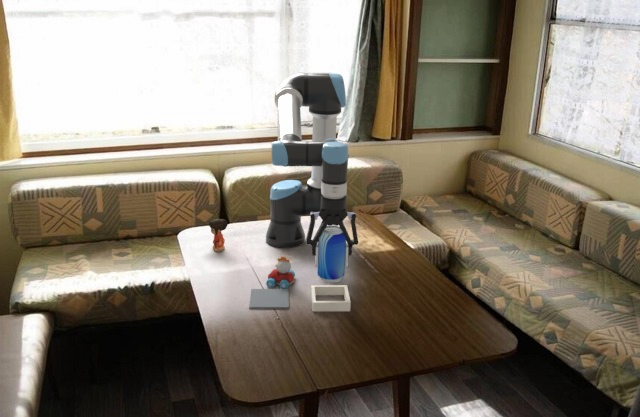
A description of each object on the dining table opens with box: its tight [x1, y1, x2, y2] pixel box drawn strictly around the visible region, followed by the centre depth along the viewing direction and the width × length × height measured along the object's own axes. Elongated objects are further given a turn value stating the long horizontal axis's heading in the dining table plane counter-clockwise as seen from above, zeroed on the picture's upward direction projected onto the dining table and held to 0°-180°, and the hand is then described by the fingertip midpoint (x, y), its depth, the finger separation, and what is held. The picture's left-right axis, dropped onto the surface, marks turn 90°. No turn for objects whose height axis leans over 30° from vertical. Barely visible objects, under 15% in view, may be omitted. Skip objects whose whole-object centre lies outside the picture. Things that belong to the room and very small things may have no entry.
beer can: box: [317, 225, 347, 283], centre depth 189 cm, size 8×8×16 cm
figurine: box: [208, 218, 228, 253], centre depth 229 cm, size 6×6×12 cm
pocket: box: [310, 284, 352, 312], centre depth 194 cm, size 12×12×3 cm
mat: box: [249, 288, 290, 310], centre depth 195 cm, size 12×12×1 cm
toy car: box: [265, 256, 296, 289], centre depth 205 cm, size 9×9×10 cm
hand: (331, 264), depth 190 cm, fingers closed on beer can, 8 cm apart
